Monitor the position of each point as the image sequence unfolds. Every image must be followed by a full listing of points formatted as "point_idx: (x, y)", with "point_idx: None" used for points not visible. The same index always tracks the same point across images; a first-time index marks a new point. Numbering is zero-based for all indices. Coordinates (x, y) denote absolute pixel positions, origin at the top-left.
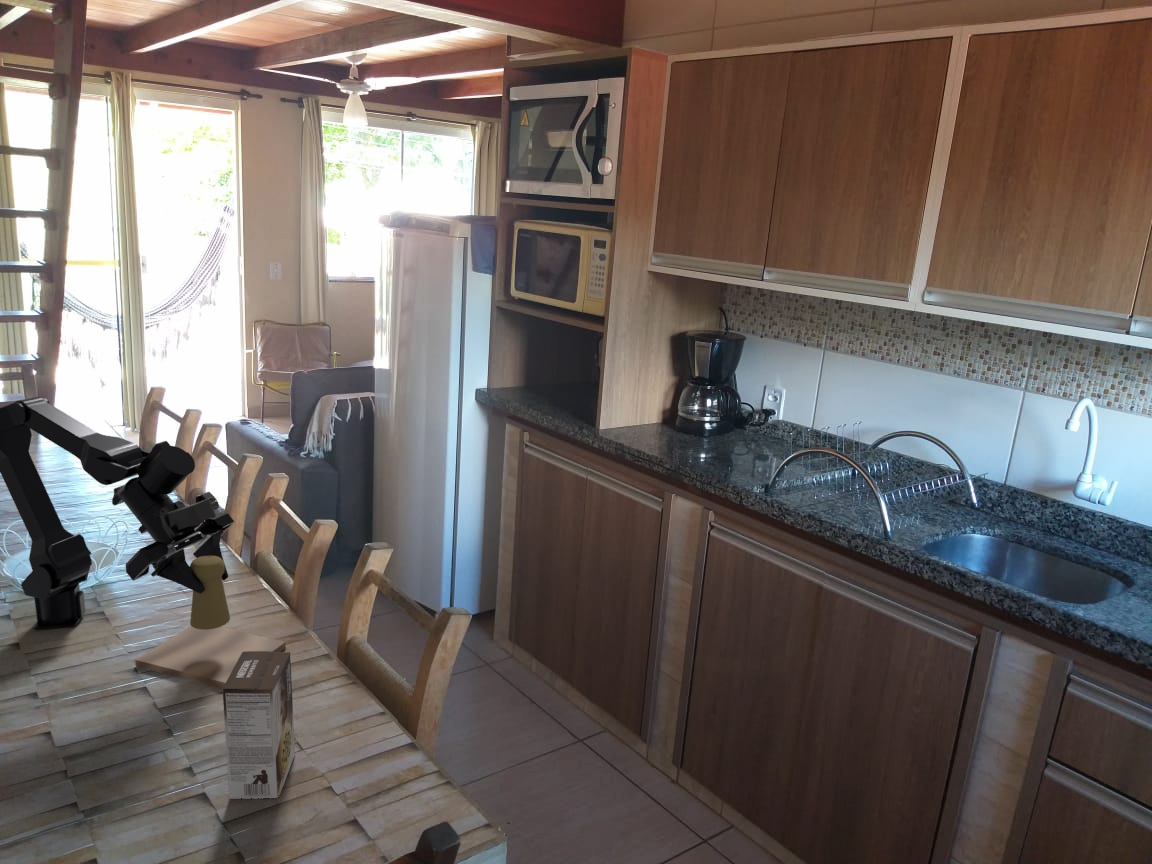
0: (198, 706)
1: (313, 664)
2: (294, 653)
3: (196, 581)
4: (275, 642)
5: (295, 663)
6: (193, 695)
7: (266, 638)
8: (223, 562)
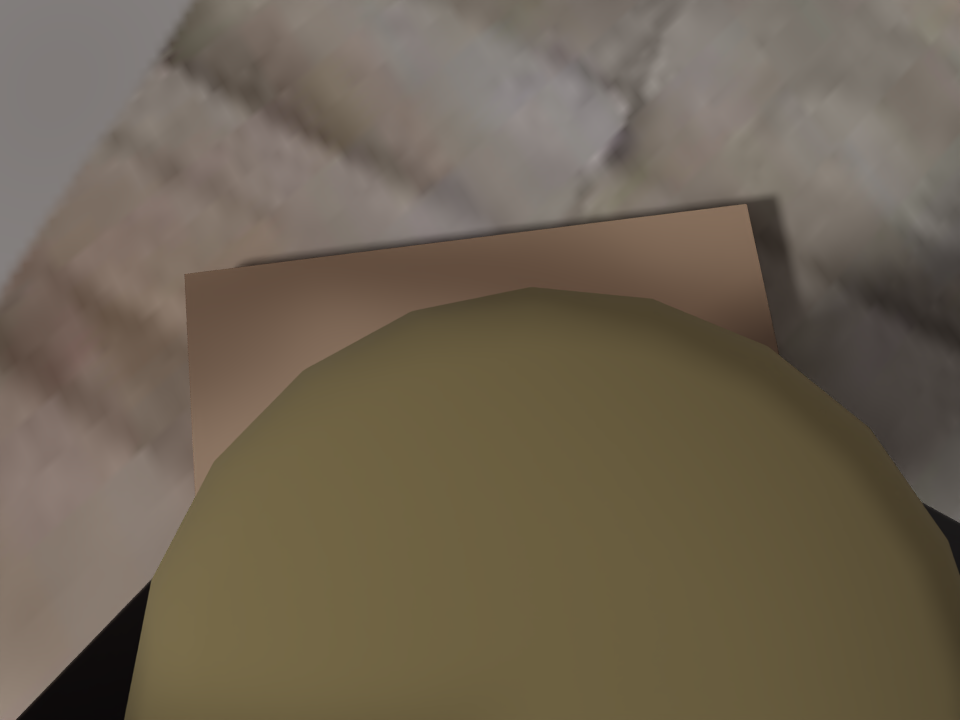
0: (937, 243)
1: (278, 34)
2: (226, 204)
3: (949, 525)
4: (221, 322)
5: (317, 122)
6: (885, 354)
7: (204, 413)
8: (260, 414)
